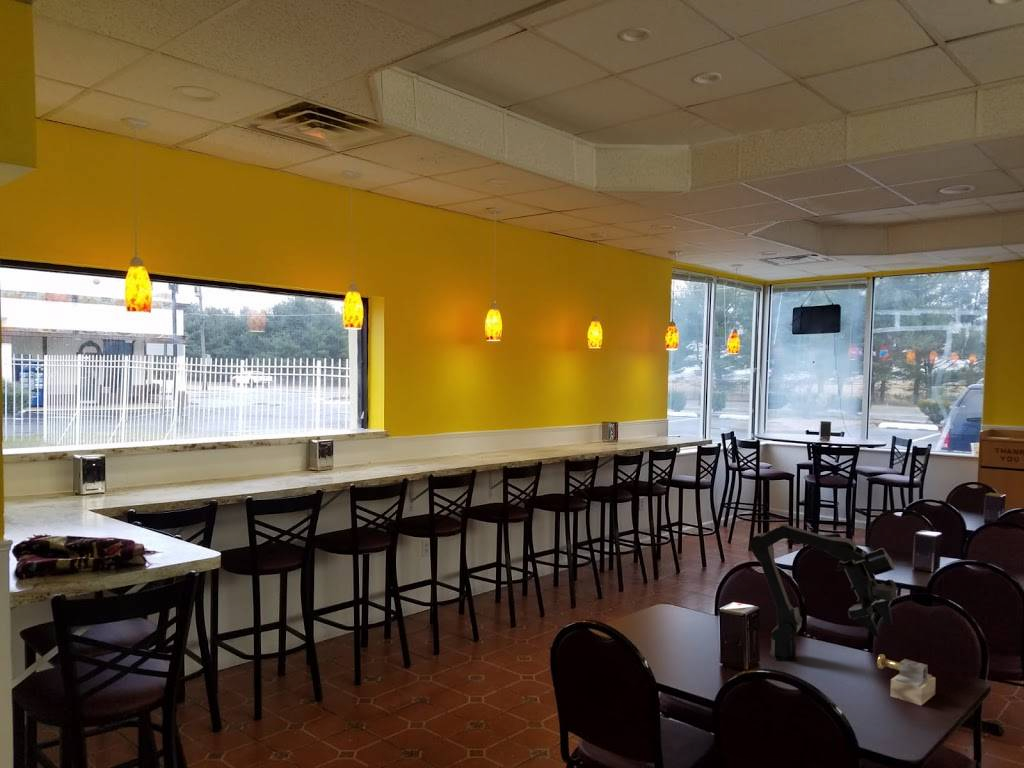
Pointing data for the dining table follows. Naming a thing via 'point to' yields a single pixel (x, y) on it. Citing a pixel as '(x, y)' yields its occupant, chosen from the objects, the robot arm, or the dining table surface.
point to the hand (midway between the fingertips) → (884, 630)
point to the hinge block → (913, 683)
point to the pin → (887, 663)
